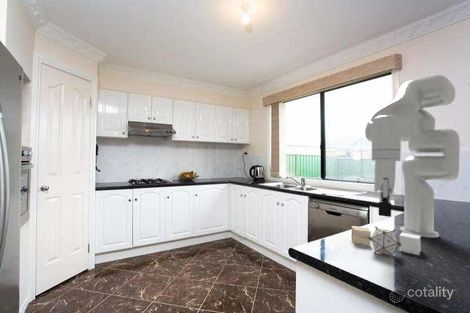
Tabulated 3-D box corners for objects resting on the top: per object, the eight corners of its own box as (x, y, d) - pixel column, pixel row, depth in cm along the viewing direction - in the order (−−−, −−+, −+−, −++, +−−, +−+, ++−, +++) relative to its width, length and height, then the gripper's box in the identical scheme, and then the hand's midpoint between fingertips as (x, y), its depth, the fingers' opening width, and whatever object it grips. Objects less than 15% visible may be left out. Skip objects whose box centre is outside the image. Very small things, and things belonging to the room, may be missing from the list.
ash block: (351, 239, 85) (351, 226, 85) (366, 241, 84) (367, 227, 84) (354, 244, 80) (354, 229, 80) (370, 246, 79) (370, 231, 79)
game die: (387, 269, 69) (385, 248, 65) (363, 250, 77) (360, 229, 72) (409, 253, 71) (409, 231, 66) (383, 235, 78) (382, 215, 74)
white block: (401, 247, 79) (401, 232, 79) (420, 251, 75) (420, 235, 76) (399, 251, 75) (399, 235, 75) (419, 255, 72) (419, 239, 72)
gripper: (372, 156, 80) (371, 210, 80) (370, 154, 68) (369, 218, 67) (398, 157, 76) (398, 213, 76) (402, 155, 64) (401, 222, 63)
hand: (384, 215), depth 72 cm, fingers closed
